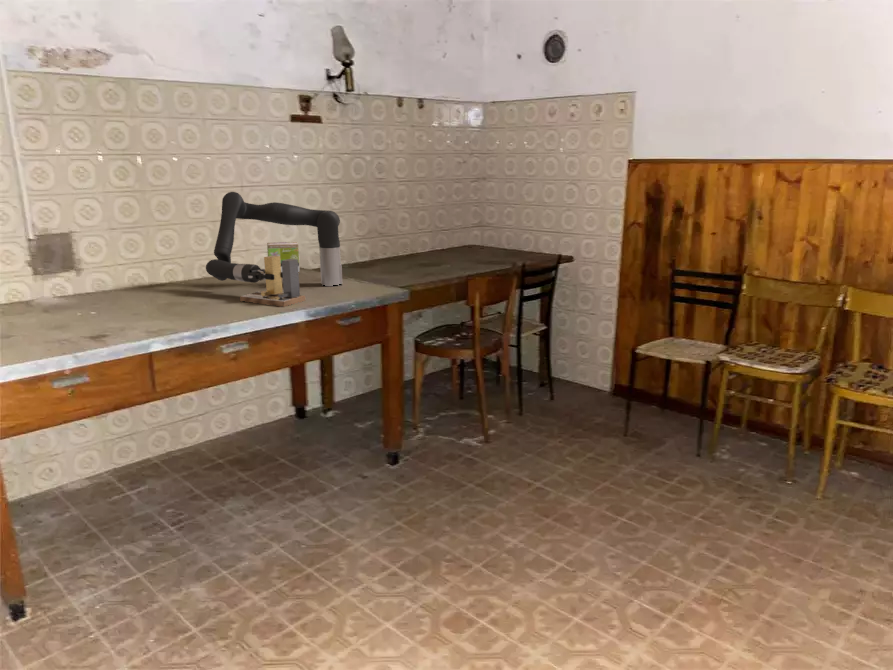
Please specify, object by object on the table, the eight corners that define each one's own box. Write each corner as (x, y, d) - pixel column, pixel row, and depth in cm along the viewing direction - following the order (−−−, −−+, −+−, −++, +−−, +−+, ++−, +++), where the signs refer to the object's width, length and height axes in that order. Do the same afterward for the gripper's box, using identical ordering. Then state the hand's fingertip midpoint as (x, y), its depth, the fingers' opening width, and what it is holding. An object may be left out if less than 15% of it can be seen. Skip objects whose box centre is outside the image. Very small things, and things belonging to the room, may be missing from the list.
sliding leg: (259, 296, 272) (256, 258, 268) (275, 291, 281) (272, 255, 277) (266, 297, 271) (263, 259, 267) (282, 292, 279) (280, 256, 275)
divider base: (240, 301, 275) (236, 259, 271) (262, 295, 286) (259, 255, 282) (284, 306, 265) (281, 263, 260) (305, 300, 276) (303, 259, 272)
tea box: (269, 274, 336) (267, 244, 332) (268, 271, 345) (266, 242, 342) (300, 272, 340) (298, 243, 336) (298, 269, 349) (296, 241, 346)
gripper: (233, 266, 275) (265, 269, 267) (258, 261, 287) (289, 264, 280) (235, 284, 277) (267, 288, 269) (259, 278, 289) (290, 282, 282)
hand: (278, 276), depth 274 cm, fingers closed on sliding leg, 5 cm apart
